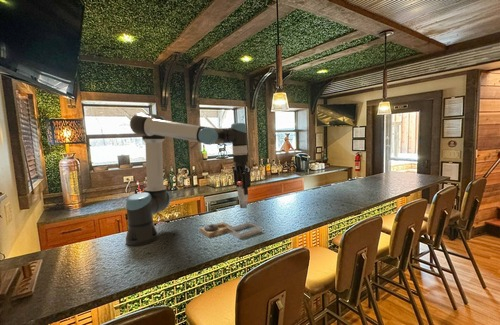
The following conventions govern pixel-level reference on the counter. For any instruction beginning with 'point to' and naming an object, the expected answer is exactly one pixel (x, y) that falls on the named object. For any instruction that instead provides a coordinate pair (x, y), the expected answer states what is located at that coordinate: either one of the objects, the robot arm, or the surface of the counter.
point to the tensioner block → (215, 229)
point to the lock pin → (242, 204)
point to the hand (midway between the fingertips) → (243, 200)
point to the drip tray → (241, 235)
